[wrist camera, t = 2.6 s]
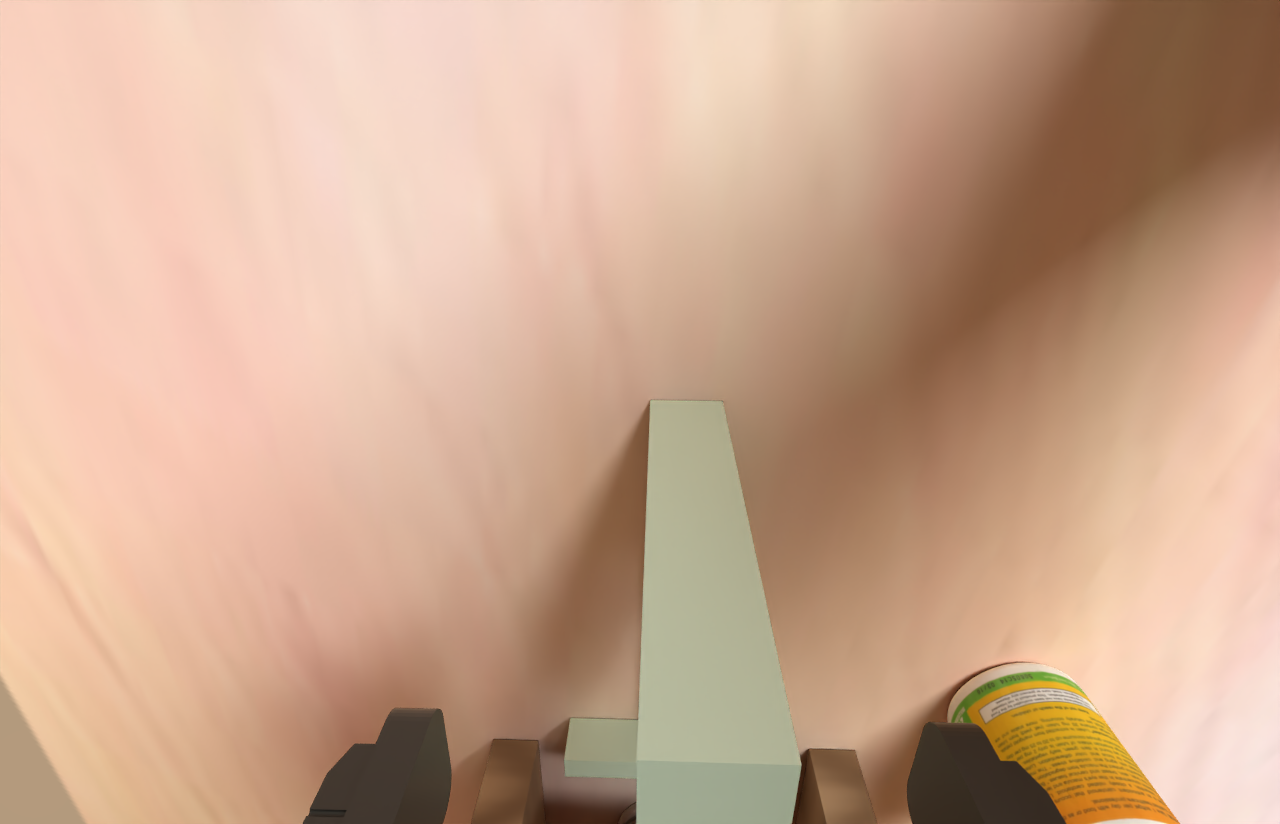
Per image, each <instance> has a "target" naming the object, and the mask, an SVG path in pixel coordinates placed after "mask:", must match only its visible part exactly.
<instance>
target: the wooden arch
mask: <svg viewBox="0 0 1280 824" xmlns="http://www.w3.org/2000/svg"><path fill="white" fill-rule="evenodd" d="M471 824H546V820H545V810H544V799H543V788H542V777H541V766H540V755H539V744H538V741H532V740H500V739H494V740H493V743H492V747H491V751H490V754H489V758H488V762H487V766H486V769H485V773H484V777H483V780H482V784H481V788H480V792H479V795H478V799H477V803H476V807H475V810H474V814H473V818H472V821H471ZM796 824H877V821H876V818H875V815H874V811H873V808H872V805H871V802H870V798H869V795H868V792H867V789H866V785H865V782H864V779H863V775H862V772H861V769H860V766H859V762H858V759H857V756H856V752H855V750H826V749H809V753H808V758H807V764H806V770H805V776H804V781H803V787H802V793H801V799H800V805H799V810H798V816H797V822H796Z"/></svg>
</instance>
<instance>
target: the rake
mask: <svg viewBox="0 0 1280 824" xmlns="http://www.w3.org/2000/svg"><path fill="white" fill-rule="evenodd" d="M801 766H802V765H801V760H800V756H799V751H798V747H797V742H796V737H795V733H794V728H793V723H792V719H791V714H790V710H789V705H788V700H787V696H786V691H785V686H784V682H783V677H782V673H781V668H780V663H779V659H778V654H777V649H776V645H775V640H774V636H773V631H772V626H771V622H770V617H769V613H768V608H767V603H766V599H765V594H764V589H763V585H762V580H761V576H760V571H759V566H758V562H757V557H756V552H755V548H754V543H753V539H752V534H751V529H750V525H749V520H748V515H747V511H746V506H745V502H744V497H743V492H742V488H741V483H740V478H739V474H738V469H737V465H736V460H735V455H734V451H733V446H732V442H731V437H730V432H729V428H728V423H727V418H726V414H725V409H724V405H723V401H686V400H650V422H649V448H648V474H647V501H646V527H645V554H644V580H643V606H642V633H641V659H640V686H639V712H638V720H626V719H592V718H570V723H569V730H568V737H567V743H566V750H565V757H564V768H565V776H566V777H597V778H629V779H637V802H636V824H792V819H793V813H794V807H795V801H796V795H797V790H798V784H799V778H800V772H801Z"/></svg>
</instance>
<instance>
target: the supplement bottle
mask: <svg viewBox="0 0 1280 824" xmlns="http://www.w3.org/2000/svg"><path fill="white" fill-rule="evenodd" d="M947 721H948V723H974V724H977V725H978V726H979V727H981V728H982V730H983V731H984V732H985V734H986V735H987V737H988V739H989V741H990V743H991V744H992V746H993V748H994V750H995V752H996V753H997V755H998V757H999V759H1000V761H1017V762H1018V763H1019V764H1020V765H1021V766H1022V767H1023V768H1024V769H1025V770H1026V771H1027V772H1028V773H1029V774H1030V775H1031V776H1032V777H1033V778H1034V779H1035V780H1036V781H1037V782H1038V783H1039V784H1040V785H1041V786H1042V787H1043V788H1044V789H1045V790H1046V791H1047V792H1048V794H1049V795H1050V797H1051V799H1052V800H1053V802H1054V804H1055V805H1056V807H1057V809H1058V810H1059V812H1060V814H1061V815H1062V817H1063V819H1064V820H1065V822H1066V824H1180V823H1179V822H1178V820H1177V819H1176V817H1175V816H1174V815H1173V813H1172V812H1171V811H1170V809H1169V808H1168V807H1167V805H1166V804H1165V803H1164V801H1163V800H1162V799H1161V797H1160V796H1159V794H1158V793H1157V792H1156V790H1155V789H1154V788H1153V786H1152V785H1151V783H1150V782H1149V781H1148V779H1147V778H1146V777H1145V775H1144V774H1143V773H1142V771H1141V770H1140V768H1139V767H1138V766H1137V764H1136V763H1135V762H1134V760H1133V759H1132V758H1131V756H1130V755H1129V753H1128V752H1127V751H1126V749H1125V748H1124V747H1123V745H1122V744H1121V743H1120V741H1119V740H1118V738H1117V737H1116V736H1115V734H1114V733H1113V731H1112V730H1111V729H1110V727H1109V726H1108V725H1107V723H1106V722H1105V720H1104V719H1103V718H1102V716H1101V715H1100V714H1099V712H1098V711H1097V709H1096V708H1095V707H1094V705H1093V704H1092V703H1091V701H1090V700H1089V699H1088V697H1087V696H1086V695H1085V693H1084V692H1083V691H1082V689H1081V688H1080V687H1079V686H1078V684H1077V683H1076V682H1075V681H1074V680H1073V679H1072V678H1071V677H1069V676H1068V675H1067V674H1065V673H1064V672H1062V671H1060V670H1058V669H1056V668H1053V667H1050V666H1047V665H1043V664H1038V663H1027V662H1023V663H1012V664H1006V665H1002V666H999V667H995V668H992V669H990V670H987V671H985V672H983V673H981V674H979V675H977V676H976V677H974V678H972V679H971V680H969V681H968V682H967V683H966V684H964V685H963V686H962V687H961V688H960V689H959V690H958V691H957V693H956V694H955V695H954V697H953V699H952V700H951V703H950V705H949V708H948V713H947Z"/></svg>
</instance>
